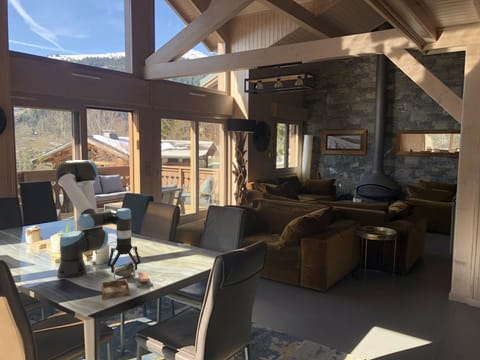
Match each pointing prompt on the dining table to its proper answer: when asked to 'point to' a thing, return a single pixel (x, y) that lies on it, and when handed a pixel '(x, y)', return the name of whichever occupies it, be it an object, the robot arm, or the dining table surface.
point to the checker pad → (143, 276)
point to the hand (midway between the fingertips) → (124, 277)
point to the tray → (114, 289)
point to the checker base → (139, 284)
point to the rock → (125, 270)
